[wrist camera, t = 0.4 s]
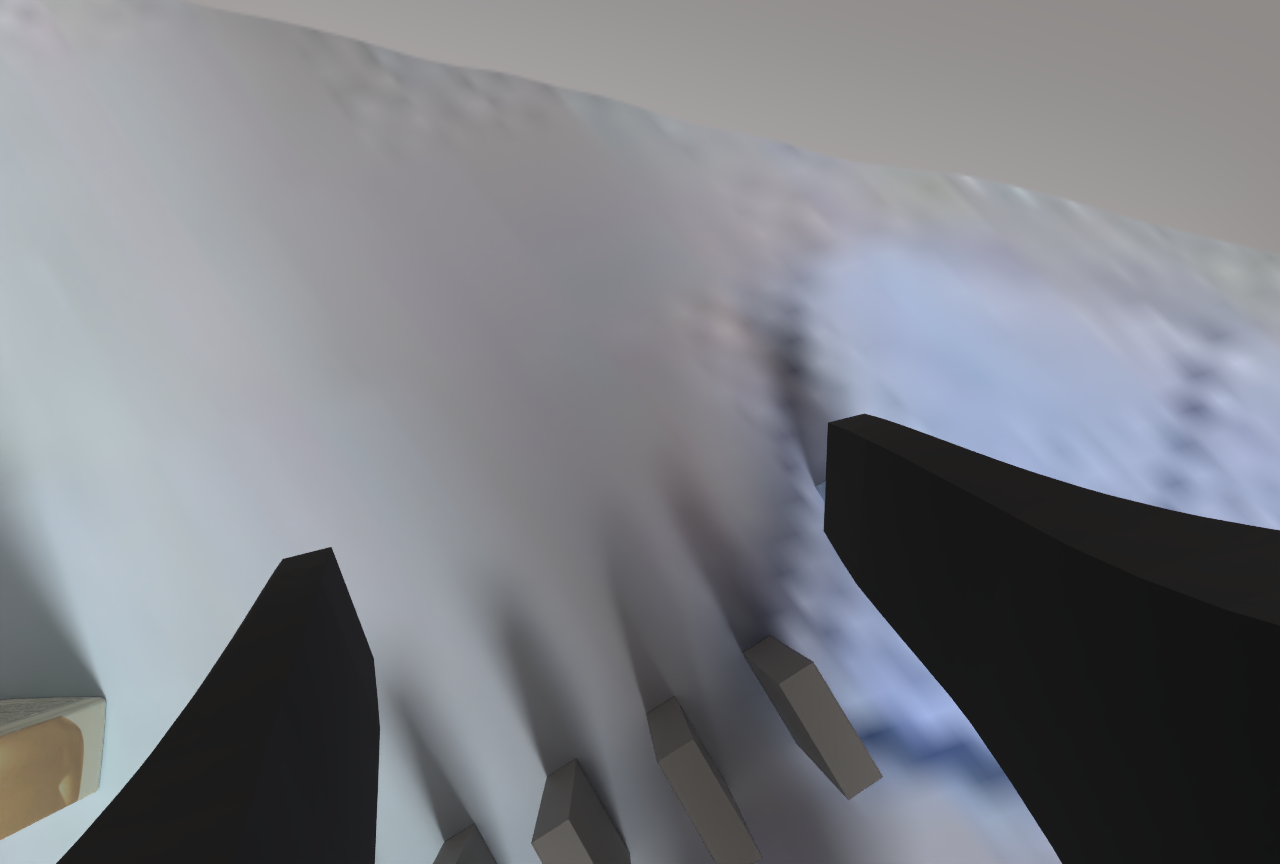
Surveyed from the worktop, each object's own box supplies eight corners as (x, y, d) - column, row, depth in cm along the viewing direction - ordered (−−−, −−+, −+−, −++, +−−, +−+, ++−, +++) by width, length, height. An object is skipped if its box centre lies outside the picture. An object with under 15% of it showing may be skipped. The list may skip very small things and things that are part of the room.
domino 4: (630, 853, 36) (637, 941, 28) (600, 872, 36) (599, 966, 28) (576, 758, 37) (568, 819, 29) (546, 776, 37) (531, 843, 29)
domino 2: (824, 725, 38) (883, 776, 30) (796, 743, 37) (848, 800, 29) (769, 635, 38) (813, 662, 30) (742, 652, 38) (778, 684, 30)
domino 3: (728, 788, 37) (762, 857, 29) (700, 807, 37) (726, 881, 29) (674, 696, 37) (693, 739, 29) (646, 713, 37) (657, 762, 29)
